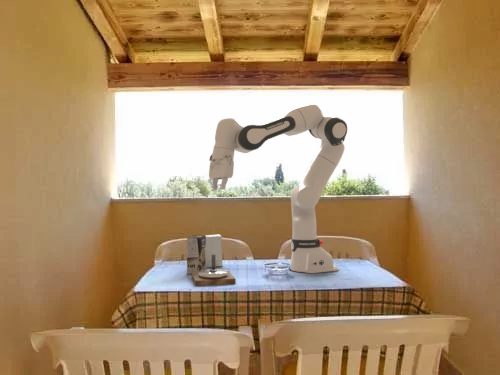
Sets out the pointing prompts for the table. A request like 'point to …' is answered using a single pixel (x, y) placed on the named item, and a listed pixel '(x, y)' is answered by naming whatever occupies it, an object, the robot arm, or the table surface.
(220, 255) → the skincare box
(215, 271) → the dial
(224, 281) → the dial board
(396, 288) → the table surface
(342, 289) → the table surface
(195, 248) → the coffee box
